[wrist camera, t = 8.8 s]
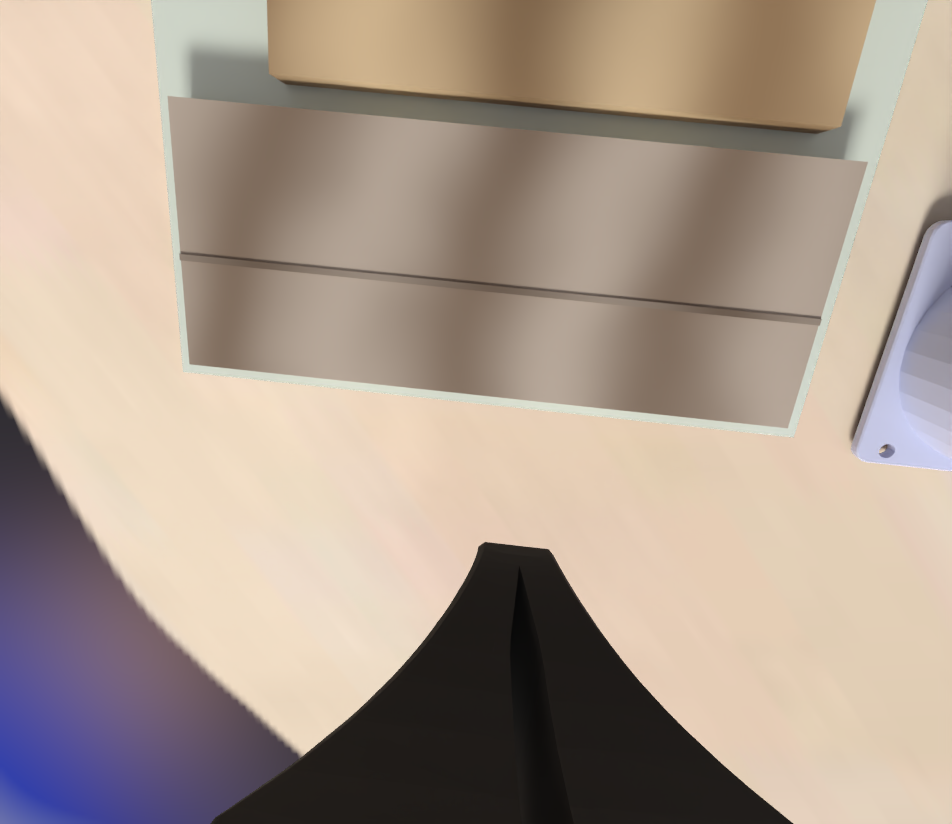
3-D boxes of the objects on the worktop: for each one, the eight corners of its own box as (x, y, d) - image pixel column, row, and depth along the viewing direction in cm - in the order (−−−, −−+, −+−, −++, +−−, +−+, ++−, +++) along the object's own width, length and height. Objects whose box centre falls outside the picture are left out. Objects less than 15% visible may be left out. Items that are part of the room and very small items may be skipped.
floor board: (843, 166, 16) (869, 161, 15) (771, 416, 19) (788, 428, 18) (190, 104, 17) (166, 95, 16) (208, 356, 19) (188, 364, 18)
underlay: (1021, -320, 13) (1028, -328, 13) (790, 435, 19) (793, 437, 19) (122, -384, 14) (116, -393, 13) (186, 370, 20) (183, 371, 20)
